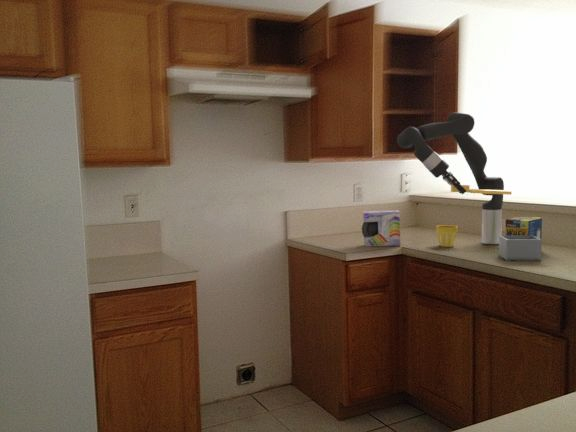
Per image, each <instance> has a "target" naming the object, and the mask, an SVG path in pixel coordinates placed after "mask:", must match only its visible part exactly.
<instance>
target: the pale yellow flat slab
mask: <svg viewBox="0 0 576 432" xmlns="http://www.w3.org/2000/svg"><path fill="white" fill-rule="evenodd" d="M461 186H462V187H463V188H464V189H465V190H466V192H465V193H470V194H481V195H483V194H503V195H512V191H509V190H486V189H479V188H471V186H470V185H469V184H461ZM450 192H451V193H459V192H460V191H459V190H458V189H457V188H455V187H454V186H453V185H450Z"/></svg>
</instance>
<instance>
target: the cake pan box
mask: <svg viewBox="0 0 576 432" xmlns="http://www.w3.org/2000/svg"><path fill="white" fill-rule="evenodd" d="M362 215H363V222H362V226H361V232H362V233H361V234H362V235H363V243H364V247H389V246H401V245H402V241H401V212H400V210H398V209H397V210H366V211H365V210H364V211H363V214H362Z"/></svg>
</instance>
